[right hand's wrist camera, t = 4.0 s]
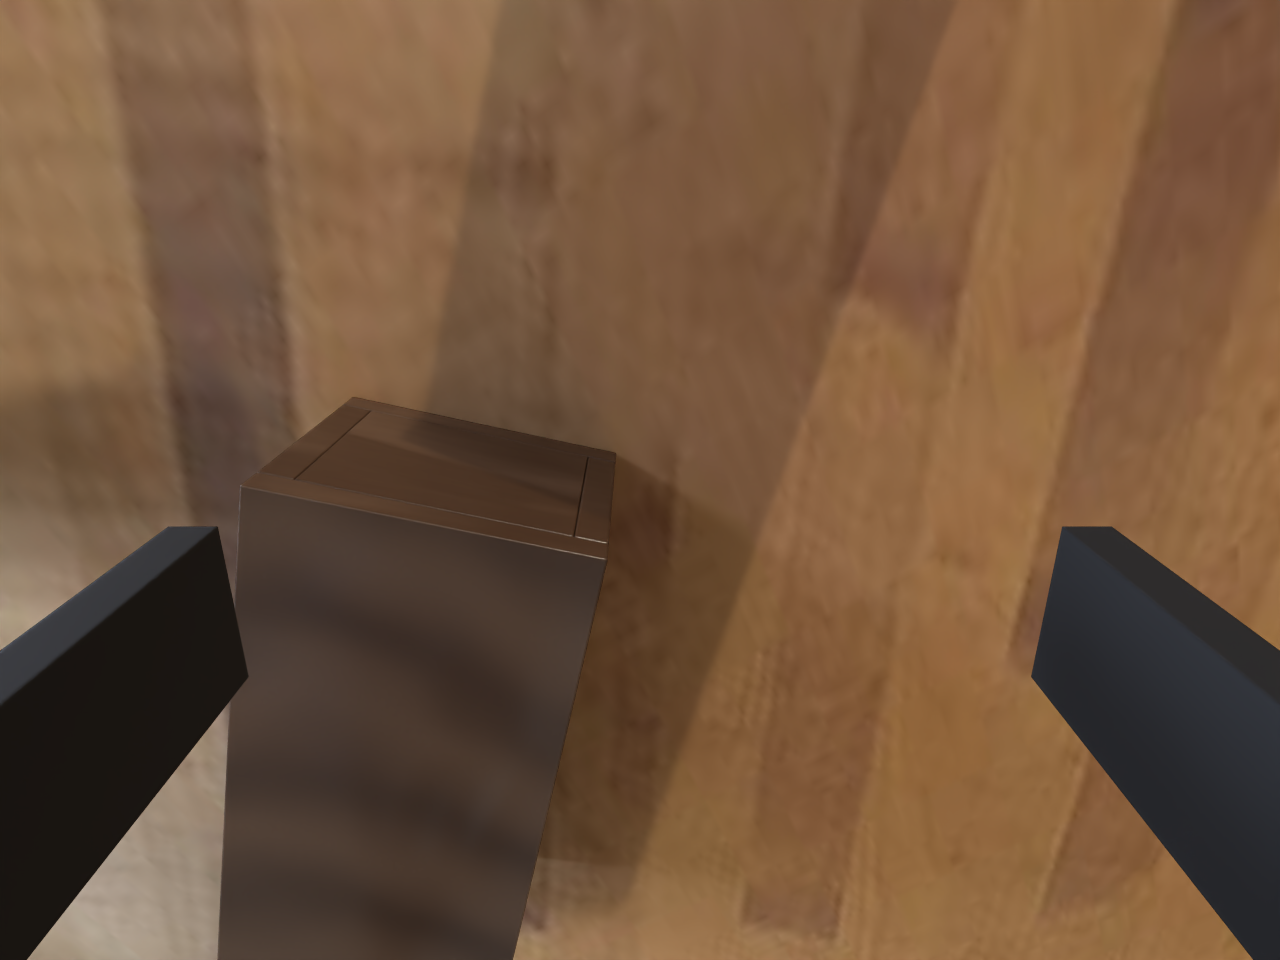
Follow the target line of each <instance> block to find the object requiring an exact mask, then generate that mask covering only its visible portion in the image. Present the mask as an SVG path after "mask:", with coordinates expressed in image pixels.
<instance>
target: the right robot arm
mask: <svg viewBox="0 0 1280 960" xmlns="http://www.w3.org/2000/svg"><path fill="white" fill-rule="evenodd" d="M248 677H249V675H248V670H247V666H246V661H245V656H244V651H243V646H242V642H241V637H240V632H239V627H238V622H237V617H236V613H235V608H234V603H233V598H232V593H231V589H230V584H229V579H228V574H227V569H226V564H225V560H224V555H223V550H222V545H221V540H220V536H219V531H218V527H167V528H166V529H164V530H163V531H162V532H160V533H159V534H158V535H156V536H155V537H154V538H152V539H151V540H150V541H148V542H147V543H145V544H144V545H143V546H141V547H140V548H139V549H137V550H136V551H135V552H133V553H132V554H131V555H129V556H128V557H127V558H125V559H124V560H122V561H121V562H120V563H118V564H117V565H116V566H114V567H113V568H112V569H110V570H109V571H108V572H106V573H105V574H103V575H102V576H101V577H99V578H98V579H97V580H95V581H94V582H93V583H91V584H90V585H89V586H87V587H86V588H85V589H83V590H82V591H80V592H79V593H78V594H76V595H75V596H74V597H72V598H71V599H70V600H68V601H67V602H66V603H64V604H63V605H61V606H60V607H59V608H57V609H56V610H55V611H53V612H52V613H51V614H49V615H48V616H47V617H45V618H44V619H43V620H41V621H40V622H38V623H37V624H36V625H34V626H33V627H32V628H30V629H29V630H28V631H26V632H25V633H24V634H22V635H21V636H19V637H18V638H17V639H15V640H14V641H13V642H11V643H10V644H9V645H7V646H6V647H5V648H3V649H2V650H0V960H27V959H28V957H29V956H30V955H31V954H32V952H33V951H34V950H35V948H36V947H37V946H38V945H39V943H40V942H41V941H42V940H43V938H44V937H45V936H46V934H47V933H48V932H49V931H50V929H51V928H52V927H53V926H54V924H55V923H56V922H57V920H58V919H59V918H60V917H61V915H62V914H63V913H64V912H65V910H66V909H67V908H68V906H69V905H70V904H71V903H72V901H73V900H74V899H75V898H76V896H77V895H78V894H79V892H80V891H81V890H82V889H83V887H84V886H85V885H86V883H87V882H88V881H89V880H90V878H91V877H92V876H93V875H94V873H95V872H96V871H97V869H98V868H99V867H100V866H101V864H102V863H103V862H104V861H105V859H106V858H107V857H108V855H109V854H110V853H111V852H112V850H113V849H114V848H115V847H116V845H117V844H118V843H119V841H120V840H121V839H122V838H123V836H124V835H125V834H126V833H127V831H128V830H129V829H130V827H131V826H132V825H133V824H134V822H135V821H136V820H137V819H138V817H139V816H140V815H141V813H142V812H143V811H144V810H145V808H146V807H147V806H148V805H149V803H150V802H151V801H152V799H153V798H154V797H155V796H156V794H157V793H158V792H159V791H160V789H161V788H162V787H163V785H164V784H165V783H166V782H167V780H168V779H169V778H170V777H171V775H172V774H173V773H174V771H175V770H176V769H177V768H178V766H179V765H180V764H181V763H182V761H183V760H184V759H185V757H186V756H187V755H188V754H189V752H190V751H191V750H192V748H193V747H194V746H195V745H196V743H197V742H198V741H199V740H200V738H201V737H202V736H203V734H204V733H205V732H206V731H207V729H208V728H209V727H210V726H211V724H212V723H213V722H214V720H215V719H216V718H217V717H218V715H219V714H220V713H221V712H222V710H223V709H224V708H225V706H226V705H227V704H228V703H229V701H230V700H231V699H232V698H233V696H234V695H235V694H236V692H237V691H238V690H239V689H240V687H241V686H242V685H243V684H244V682H245V681H246V680H247V678H248ZM1031 677H1032V678H1033V680H1034V681H1035V682H1036V684H1037V685H1038V686H1039V687H1040V689H1041V690H1042V691H1043V692H1044V694H1045V695H1046V696H1047V698H1048V699H1049V700H1050V701H1051V703H1052V704H1053V705H1054V706H1055V708H1056V709H1057V710H1058V712H1059V713H1060V714H1061V715H1062V717H1063V718H1064V719H1065V720H1066V722H1067V723H1068V724H1069V726H1070V727H1071V728H1072V729H1073V731H1074V732H1075V733H1076V734H1077V736H1078V737H1079V738H1080V740H1081V741H1082V742H1083V743H1084V745H1085V746H1086V747H1087V749H1088V750H1089V751H1090V752H1091V754H1092V755H1093V756H1094V757H1095V759H1096V760H1097V761H1098V763H1099V764H1100V765H1101V766H1102V768H1103V769H1104V770H1105V771H1106V773H1107V774H1108V775H1109V777H1110V778H1111V779H1112V780H1113V782H1114V783H1115V784H1116V785H1117V787H1118V788H1119V789H1120V791H1121V792H1122V793H1123V794H1124V796H1125V797H1126V798H1127V799H1128V801H1129V802H1130V803H1131V805H1132V806H1133V807H1134V808H1135V810H1136V811H1137V812H1138V813H1139V815H1140V816H1141V817H1142V819H1143V820H1144V821H1145V822H1146V824H1147V825H1148V826H1149V827H1150V829H1151V830H1152V831H1153V833H1154V834H1155V835H1156V836H1157V838H1158V839H1159V840H1160V841H1161V843H1162V844H1163V845H1164V847H1165V848H1166V849H1167V850H1168V852H1169V853H1170V854H1171V855H1172V857H1173V858H1174V859H1175V861H1176V862H1177V863H1178V864H1179V866H1180V867H1181V868H1182V869H1183V871H1184V872H1185V873H1186V875H1187V876H1188V877H1189V878H1190V880H1191V881H1192V882H1193V884H1194V885H1195V886H1196V887H1197V889H1198V890H1199V891H1200V892H1201V894H1202V895H1203V896H1204V898H1205V899H1206V900H1207V901H1208V903H1209V904H1210V905H1211V906H1212V908H1213V909H1214V910H1215V912H1216V913H1217V914H1218V915H1219V917H1220V918H1221V919H1222V920H1223V922H1224V923H1225V924H1226V926H1227V927H1228V928H1229V929H1230V931H1231V932H1232V933H1233V934H1234V936H1235V937H1236V938H1237V940H1238V941H1239V942H1240V943H1241V945H1242V946H1243V947H1244V948H1245V950H1246V951H1247V952H1248V954H1249V955H1250V956H1251V957H1252V959H1253V960H1280V651H1279V650H1278V649H1277V648H1275V647H1274V646H1273V645H1271V644H1270V643H1269V642H1267V641H1266V640H1265V639H1263V638H1262V637H1261V636H1259V635H1258V634H1256V633H1255V632H1254V631H1252V630H1251V629H1250V628H1248V627H1247V626H1246V625H1244V624H1243V623H1242V622H1240V621H1239V620H1237V619H1236V618H1235V617H1233V616H1232V615H1231V614H1229V613H1228V612H1227V611H1225V610H1224V609H1223V608H1221V607H1220V606H1219V605H1217V604H1216V603H1214V602H1213V601H1212V600H1210V599H1209V598H1208V597H1206V596H1205V595H1204V594H1202V593H1201V592H1200V591H1198V590H1197V589H1195V588H1194V587H1193V586H1191V585H1190V584H1189V583H1187V582H1186V581H1185V580H1183V579H1182V578H1181V577H1179V576H1178V575H1177V574H1175V573H1174V572H1172V571H1171V570H1170V569H1168V568H1167V567H1166V566H1164V565H1163V564H1162V563H1160V562H1159V561H1158V560H1156V559H1155V558H1153V557H1152V556H1151V555H1149V554H1148V553H1147V552H1145V551H1144V550H1143V549H1141V548H1140V547H1139V546H1137V545H1136V544H1135V543H1133V542H1132V541H1130V540H1129V539H1128V538H1126V537H1125V536H1124V535H1122V534H1121V533H1120V532H1118V531H1117V530H1116V529H1114V528H1113V527H1062V531H1061V536H1060V540H1059V545H1058V550H1057V555H1056V560H1055V564H1054V569H1053V574H1052V579H1051V584H1050V589H1049V593H1048V598H1047V603H1046V608H1045V613H1044V617H1043V622H1042V627H1041V632H1040V637H1039V642H1038V646H1037V651H1036V656H1035V661H1034V666H1033V670H1032V675H1031Z"/></svg>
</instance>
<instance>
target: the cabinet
mask: <svg viewBox="0 0 1280 960" xmlns="http://www.w3.org/2000/svg"><path fill="white" fill-rule="evenodd" d="M615 462H616V453H613V452H608V451H604V450H599V449H594V448H589V447H585V446H580V445H575V444H571V443H566V442H561V441H557V440H552V439H547V438H543V437H538V436H533V435H529V434H524V433H519V432H515V431H510V430H505V429H500V428H496V427H491V426H486V425H482V424H477V423H472V422H468V421H463V420H458V419H454V418H449V417H444V416H440V415H435V414H430V413H426V412H421V411H416V410H411V409H407V408H402V407H397V406H393V405H388V404H383V403H379V402H374V401H369V400H365V399H360V398H355V397H352V398H351V399H350V400H348V401H347V402H346V403H345V404H344V405H342V406H341V407H340V408H339V409H337V410H336V411H335V412H333V413H332V414H331V415H330V416H328V417H327V418H326V419H325V420H323V421H322V422H321V423H319V424H318V425H317V426H316V427H314V428H313V429H312V430H311V431H309V432H308V433H307V434H305V435H304V436H303V437H302V438H300V439H299V440H298V441H297V442H295V443H294V444H293V445H291V446H290V447H289V448H288V449H286V450H285V451H284V452H283V453H281V454H280V455H279V456H277V457H276V458H275V459H274V460H272V461H271V462H270V463H269V464H267V465H266V466H265V467H263V468H262V469H261V470H260V471H258V473H256V474H254V475H253V476H252V477H251V478H249V479H248V480H247V481H245V482H244V483H243V484H242V485H241V486H240V498H239V519H238V540H237V561H236V582H235V603H234V608H235V613H236V617H237V622H238V627H239V632H240V637H241V642H242V646H243V651H244V656H245V661H246V666H247V670H248V675H249V677H248V678H247V680H246V681H245V682H244V684H243V685H242V686H241V687H240V689H239V690H238V691H237V692H236V694H235V695H234V696H233V698H232V699H231V700H230V708H229V729H228V750H227V771H226V792H225V812H224V833H223V854H222V875H221V896H220V917H219V938H218V959H217V960H513V957H514V953H515V949H516V945H517V940H518V936H519V932H520V928H521V923H522V919H523V915H524V911H525V907H526V902H527V898H528V894H529V890H530V885H531V881H532V877H533V873H534V869H535V864H536V860H537V856H538V852H539V847H540V843H541V839H542V835H543V831H544V826H545V822H546V818H547V814H548V809H549V805H550V801H551V797H552V793H553V788H554V784H555V780H556V776H557V771H558V767H559V763H560V759H561V755H562V750H563V746H564V742H565V738H566V733H567V729H568V725H569V721H570V717H571V712H572V708H573V704H574V700H575V695H576V691H577V687H578V683H579V679H580V674H581V670H582V666H583V662H584V657H585V653H586V649H587V645H588V640H589V636H590V632H591V628H592V624H593V619H594V615H595V611H596V607H597V602H598V598H599V594H600V590H601V586H602V581H603V577H604V573H605V569H606V564H607V560H608V547H609V546H608V545H609V534H610V521H611V509H612V497H613V485H614V473H615Z"/></svg>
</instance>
